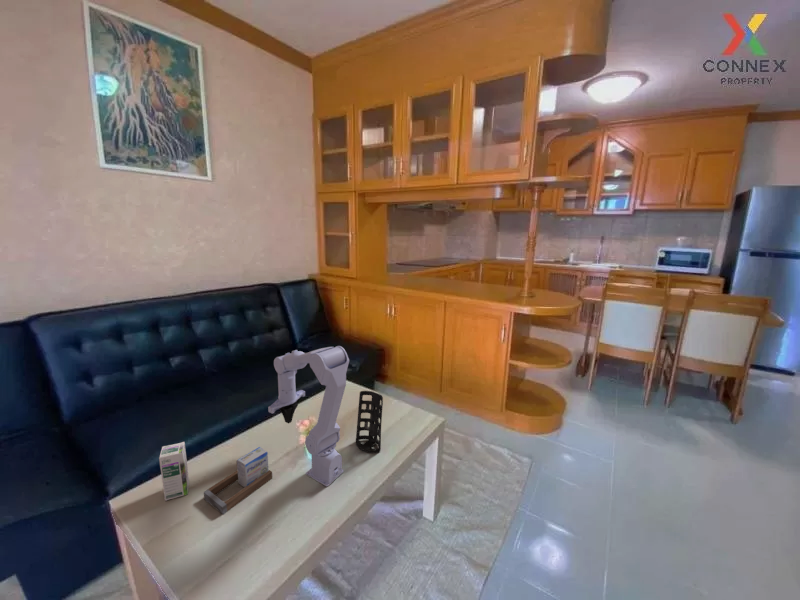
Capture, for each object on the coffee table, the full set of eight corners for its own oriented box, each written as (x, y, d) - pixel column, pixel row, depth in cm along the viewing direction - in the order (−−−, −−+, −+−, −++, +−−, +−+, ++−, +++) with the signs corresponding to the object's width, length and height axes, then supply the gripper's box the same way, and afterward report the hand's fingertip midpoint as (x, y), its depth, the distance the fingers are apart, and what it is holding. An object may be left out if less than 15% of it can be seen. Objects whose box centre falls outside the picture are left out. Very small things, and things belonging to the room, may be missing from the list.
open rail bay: (272, 478, 105) (272, 471, 105) (222, 514, 92) (222, 507, 91) (253, 466, 110) (253, 459, 109) (204, 499, 96) (203, 491, 96)
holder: (349, 446, 121) (354, 395, 118) (359, 436, 128) (364, 387, 125) (376, 455, 117) (382, 403, 114) (385, 445, 124) (390, 395, 121)
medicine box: (246, 490, 100) (244, 465, 98) (238, 483, 103) (236, 459, 101) (269, 474, 107) (268, 451, 105) (260, 468, 109) (259, 445, 107)
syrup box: (164, 501, 95) (158, 458, 92) (167, 487, 100) (161, 445, 97) (187, 495, 97) (182, 452, 94) (189, 481, 103) (184, 440, 99)
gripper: (295, 376, 124) (296, 409, 127) (261, 392, 112) (263, 427, 115) (308, 381, 120) (309, 415, 124) (275, 398, 108) (277, 435, 111)
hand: (288, 421), depth 119 cm, fingers closed
